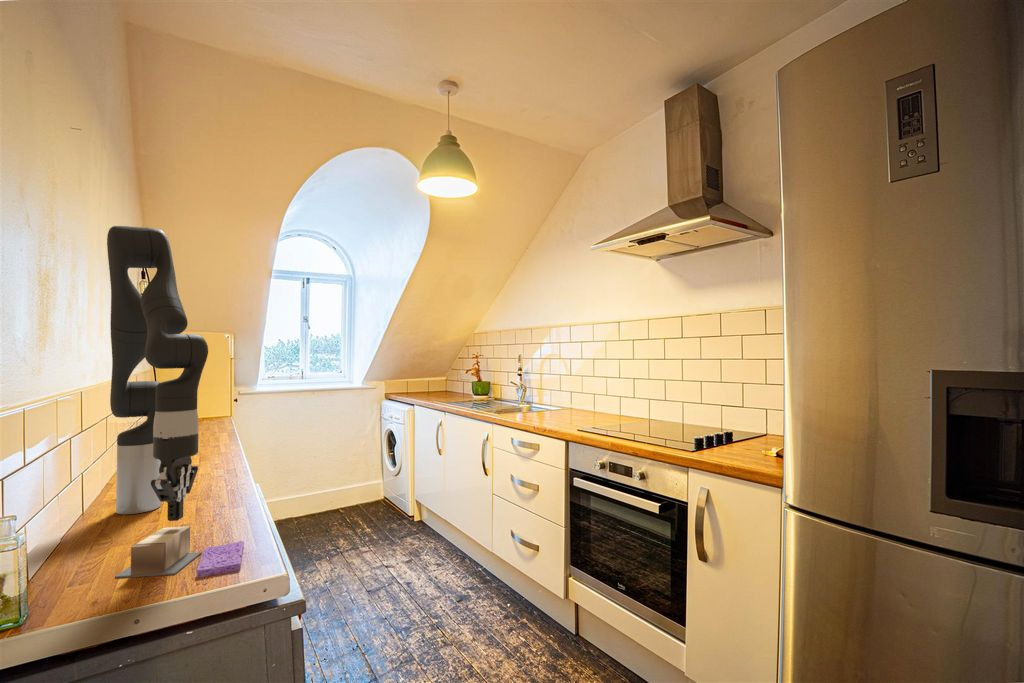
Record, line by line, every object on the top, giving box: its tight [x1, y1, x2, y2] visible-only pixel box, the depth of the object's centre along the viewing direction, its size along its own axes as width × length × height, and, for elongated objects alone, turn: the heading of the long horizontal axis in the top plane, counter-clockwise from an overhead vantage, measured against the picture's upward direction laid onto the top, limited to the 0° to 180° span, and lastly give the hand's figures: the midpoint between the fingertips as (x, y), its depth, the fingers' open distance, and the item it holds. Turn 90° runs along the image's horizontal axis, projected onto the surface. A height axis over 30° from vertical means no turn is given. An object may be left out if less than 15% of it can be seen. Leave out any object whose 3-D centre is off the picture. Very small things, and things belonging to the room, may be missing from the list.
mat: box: [114, 551, 203, 579], centre depth 93 cm, size 10×10×1 cm
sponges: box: [196, 540, 245, 579], centre depth 95 cm, size 7×13×2 cm, turn 26°
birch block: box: [130, 526, 191, 575], centre depth 93 cm, size 5×5×10 cm
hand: (175, 519), depth 98 cm, fingers closed
